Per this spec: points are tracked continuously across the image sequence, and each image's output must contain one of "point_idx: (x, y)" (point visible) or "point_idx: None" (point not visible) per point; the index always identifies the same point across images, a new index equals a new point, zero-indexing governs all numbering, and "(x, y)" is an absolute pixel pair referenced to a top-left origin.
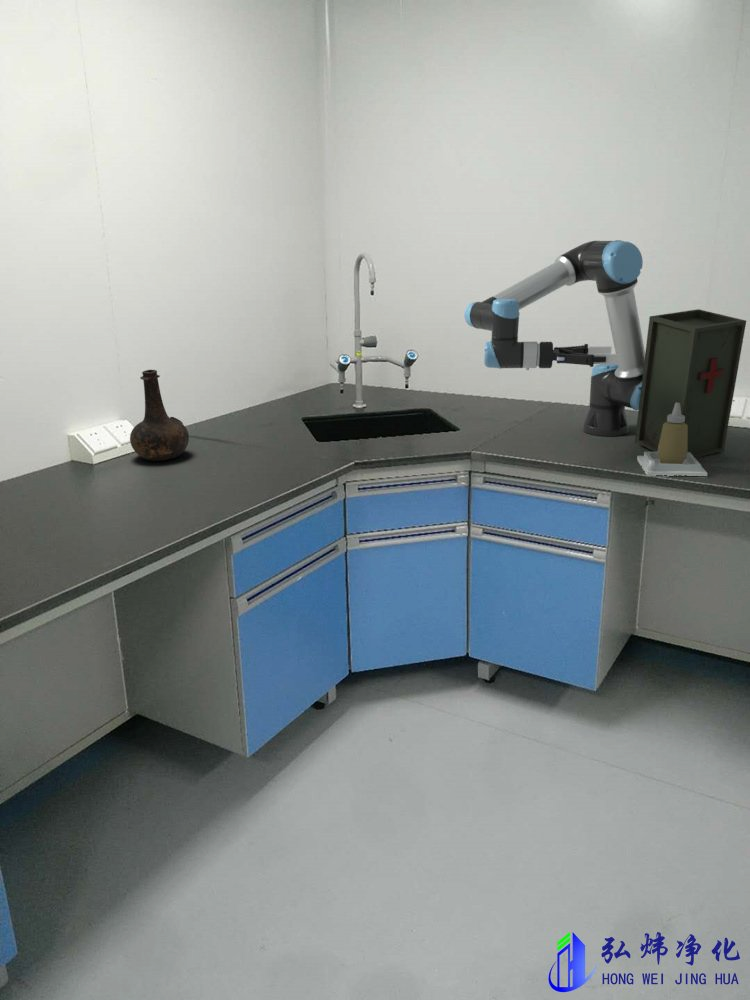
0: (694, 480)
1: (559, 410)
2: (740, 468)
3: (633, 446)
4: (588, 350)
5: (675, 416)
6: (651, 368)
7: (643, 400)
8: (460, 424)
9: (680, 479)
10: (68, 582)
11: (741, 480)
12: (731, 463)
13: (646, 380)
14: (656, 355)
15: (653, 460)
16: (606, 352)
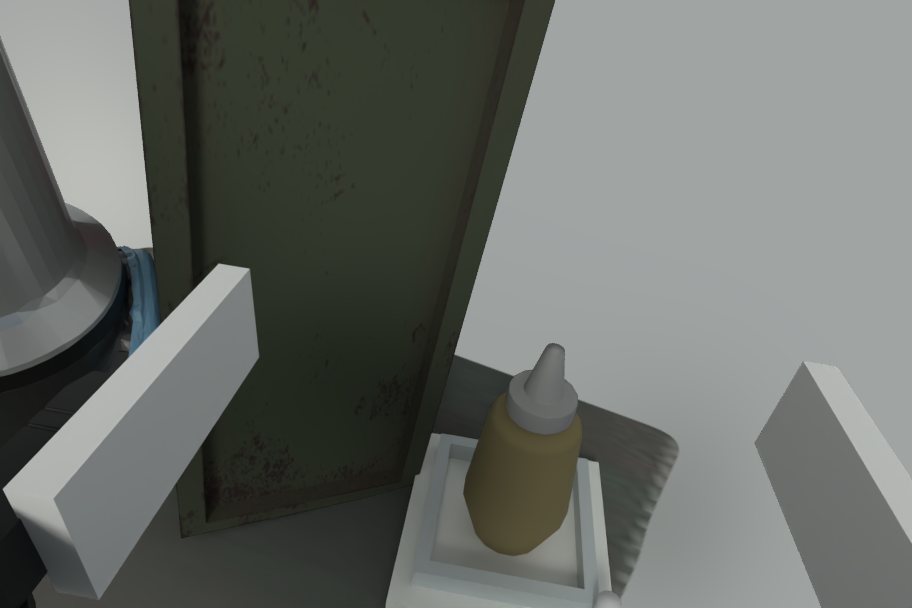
0: (632, 513)
1: None
2: (503, 373)
3: (190, 555)
4: (70, 541)
5: (565, 400)
6: (194, 238)
7: None
8: None
9: (630, 549)
10: None
11: (607, 410)
12: (458, 372)
13: None
14: (222, 161)
15: (607, 596)
16: (230, 357)
